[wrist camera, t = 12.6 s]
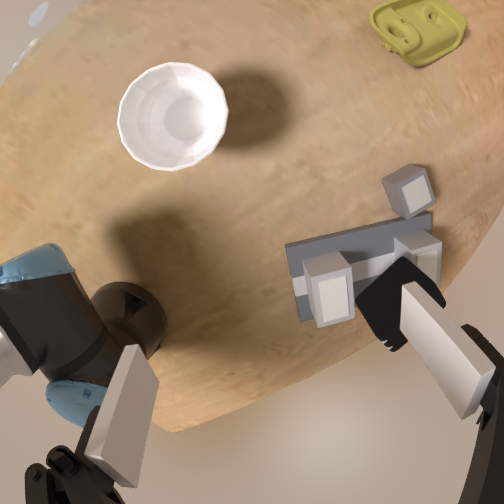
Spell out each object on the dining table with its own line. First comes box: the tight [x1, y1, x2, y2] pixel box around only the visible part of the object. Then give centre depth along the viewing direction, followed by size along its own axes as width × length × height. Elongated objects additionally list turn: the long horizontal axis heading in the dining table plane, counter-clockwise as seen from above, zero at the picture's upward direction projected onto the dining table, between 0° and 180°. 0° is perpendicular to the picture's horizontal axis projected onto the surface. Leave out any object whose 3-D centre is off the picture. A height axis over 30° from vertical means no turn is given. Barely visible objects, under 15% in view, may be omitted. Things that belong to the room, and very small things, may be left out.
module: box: [381, 164, 436, 220], centre depth 42 cm, size 6×6×5 cm
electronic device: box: [355, 256, 446, 352], centre depth 38 cm, size 4×10×10 cm, turn 135°
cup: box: [117, 62, 229, 172], centre depth 34 cm, size 12×12×11 cm
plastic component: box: [369, 0, 467, 66], centre depth 33 cm, size 20×7×10 cm
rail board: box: [285, 211, 442, 328], centre depth 46 cm, size 26×14×8 cm, turn 103°
